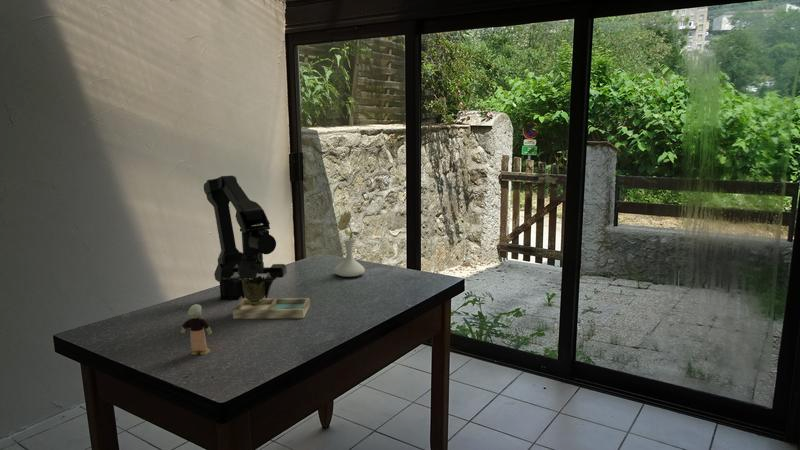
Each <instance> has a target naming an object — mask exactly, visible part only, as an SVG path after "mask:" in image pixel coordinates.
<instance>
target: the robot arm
mask: <svg viewBox="0 0 800 450" xmlns="http://www.w3.org/2000/svg"><path fill="white" fill-rule="evenodd" d="M203 192H204V194H205V195H206V199H207V201H208V203H210V204H211V205H212V207H213V209H214V210H213V211H214V216H215V222H216V228H217V234H218V238H219V245H220V246H219V247H220V253H219V256H218V258H217V266H216V269H215V270H214V273H213V274H214V275H213V276H214V279H215V281H217V282H218V283H219V293H220V295H219V298H218V300H221V301H222V300H230V301H231V300H232V301H233V300H240V298H242V299H246V298H245V296H244V292H243V287H242V282H241V280H243V279H244V278H246V279H247V278H249V279H254V278H256V277H258V276H257V275H258V274H259V275H261V274H262V275H266V277H264V278H265V282H266V284H265V296H264V299H268V297H269V294H270V291H271V287H272V285H273V282H274V281H275V280H277V278H284V277H285V275H286V274H287V272H288V271H287V266H286V264H284V263H273V264H272V265H271V266H270V267H269V266H267V267H265V263H264V257H263V256H264V255H270V254H272V253H273V252H274V251H275V249H276V247H277V240H276V238H274V236H273V235H271V234H270V231H269V230H270V229H271V227H270V224H271V223H270V220H269V219H268V217H267V214H266V211H265V210H264V209H263V207H262V206H261V205H260V204H258V202H256V201H254V200H252V199H250V198H249V197H248V195H247V194H246V193H245V191H244V190H243V188H242V187H241V185H240V184H239V183H238V180H237V177H236V176H235V175H220V177H216V178H213V179H212V178H211V179H207V180H206V182H204V184H203ZM230 203H231V205H232V206H233V207H234V209H235V211H236V212H235V220H236V222H237V225H238V226H239V231H240V232H241V242H242V243H241V246H242V251H240V250H238V248H237V246H236V245H237V244H236V238H235V234H234V228H233V227H234V226H233V221H232V216H231V209H230Z"/></svg>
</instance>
